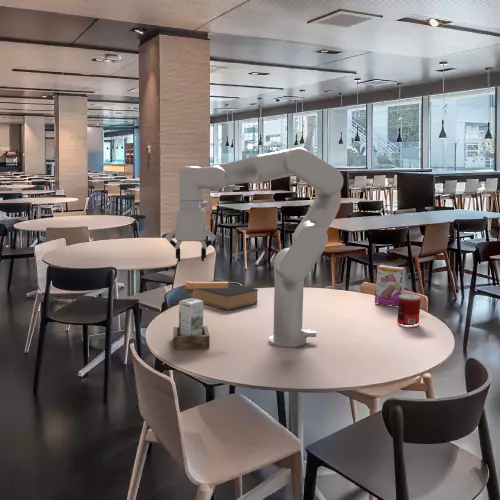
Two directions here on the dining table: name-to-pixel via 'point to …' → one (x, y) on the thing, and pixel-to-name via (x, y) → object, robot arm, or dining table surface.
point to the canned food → (408, 309)
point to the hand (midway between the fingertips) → (190, 260)
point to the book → (227, 296)
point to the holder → (191, 341)
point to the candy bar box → (389, 284)
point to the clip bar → (205, 285)
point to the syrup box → (190, 317)
